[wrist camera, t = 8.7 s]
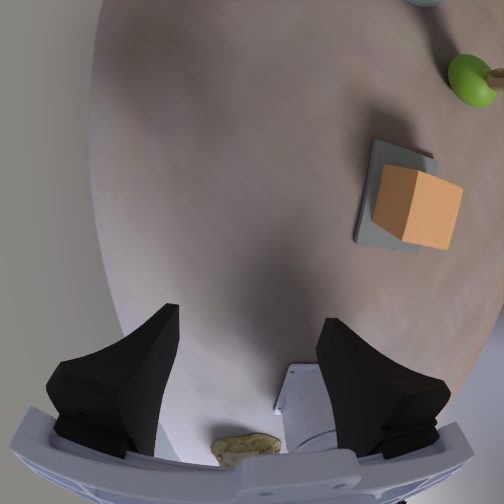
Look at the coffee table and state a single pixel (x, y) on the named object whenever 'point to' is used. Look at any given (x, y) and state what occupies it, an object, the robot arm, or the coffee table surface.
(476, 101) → the snail figurine
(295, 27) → the coffee table surface
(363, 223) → the mat
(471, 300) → the coffee table surface
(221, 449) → the ceramic model
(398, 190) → the cube
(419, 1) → the teal cup
